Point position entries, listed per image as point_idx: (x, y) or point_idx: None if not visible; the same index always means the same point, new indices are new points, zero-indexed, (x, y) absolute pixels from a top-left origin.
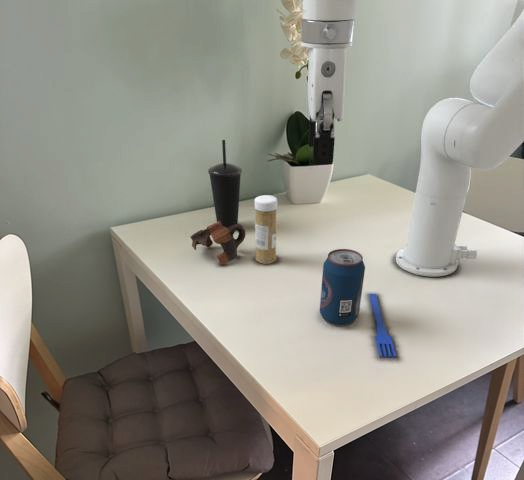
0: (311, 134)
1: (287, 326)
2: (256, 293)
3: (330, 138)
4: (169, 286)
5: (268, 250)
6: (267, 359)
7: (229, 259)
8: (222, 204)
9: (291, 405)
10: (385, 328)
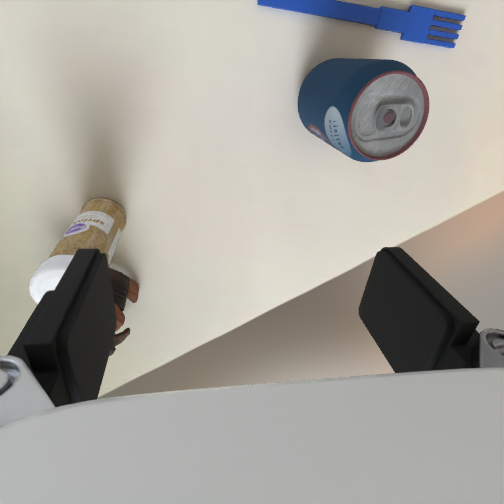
0: (103, 364)
1: (335, 188)
2: (235, 231)
3: (466, 337)
4: (210, 339)
5: (118, 224)
6: (400, 217)
7: (128, 280)
8: None
9: (485, 193)
10: (389, 9)
